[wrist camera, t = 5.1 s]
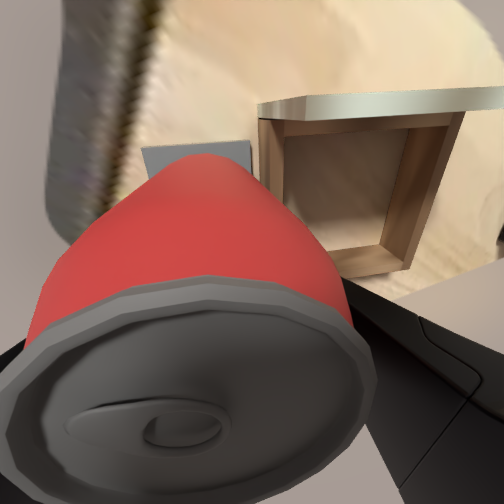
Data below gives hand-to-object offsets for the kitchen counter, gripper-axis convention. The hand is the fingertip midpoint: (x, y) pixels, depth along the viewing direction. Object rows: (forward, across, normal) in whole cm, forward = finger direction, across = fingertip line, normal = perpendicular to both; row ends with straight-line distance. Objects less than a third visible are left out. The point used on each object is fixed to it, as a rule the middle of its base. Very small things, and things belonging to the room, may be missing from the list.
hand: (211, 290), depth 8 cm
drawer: (+10, -10, +1) cm, 14 cm away
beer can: (+8, 0, 0) cm, 8 cm away
